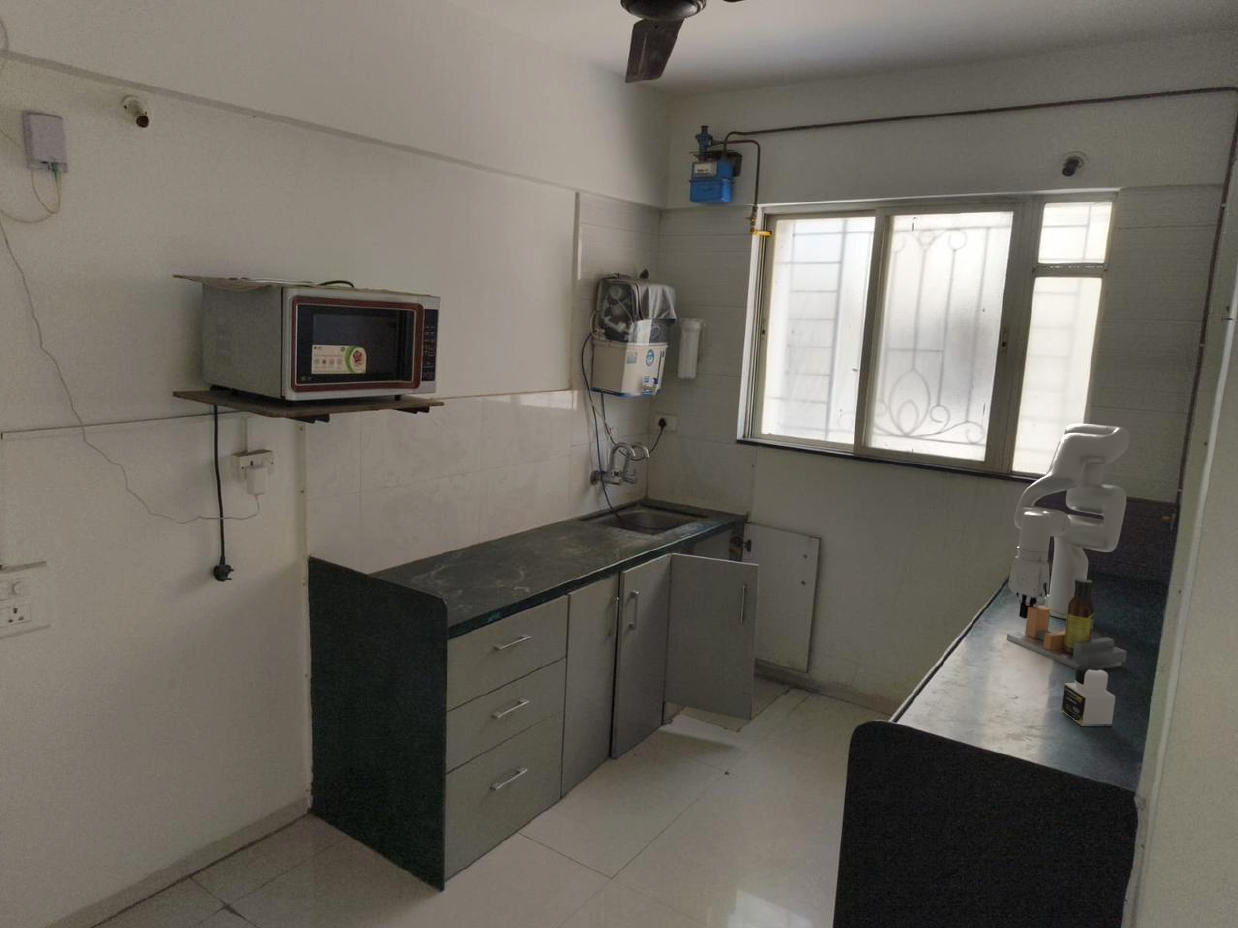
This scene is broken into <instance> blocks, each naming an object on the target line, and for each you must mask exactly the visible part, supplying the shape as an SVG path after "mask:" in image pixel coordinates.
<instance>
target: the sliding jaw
mask: <svg viewBox="0 0 1238 928" xmlns="http://www.w3.org/2000/svg"><path fill="white" fill-rule="evenodd" d="M1050 616H1051V615H1050V609H1049V608H1046V607H1044V606H1043V605H1033V607H1028V614H1027V618H1026V622H1025V624H1026V625H1025V631H1024V632H1025V634H1026V635H1028V636H1031V637H1033V638H1039V639H1041V640H1044V644H1043V648H1046V649H1048V650H1053V649H1060V648H1064V638H1065V630H1062V631H1053V632H1052V631H1050V630H1049V623H1050Z"/></svg>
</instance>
